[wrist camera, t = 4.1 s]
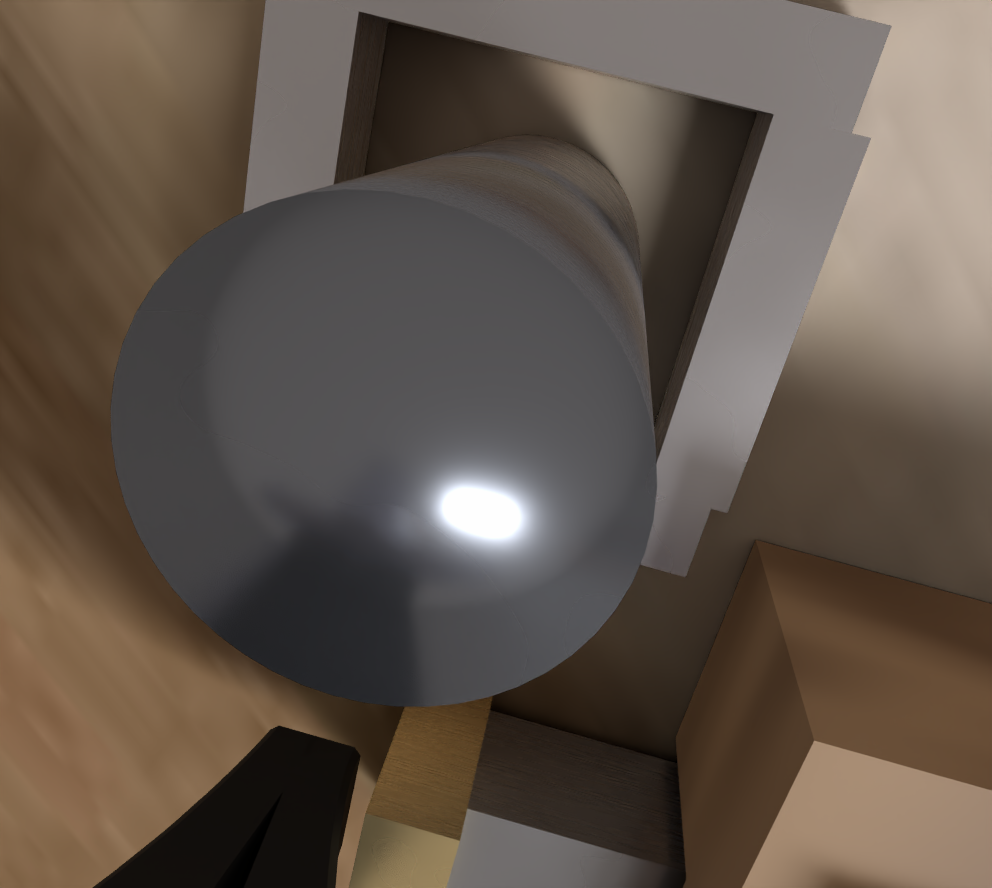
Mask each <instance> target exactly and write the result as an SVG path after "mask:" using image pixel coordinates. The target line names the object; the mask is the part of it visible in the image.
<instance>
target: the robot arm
mask: <svg viewBox="0 0 992 888" xmlns="http://www.w3.org/2000/svg"><path fill="white" fill-rule="evenodd" d="M359 761H360V754H359V753H358V751H357V750H356V749H355V747H352V746H348V745H345V744H341V743H338V742H334V741H331V740H327V739H324V738H320V737H317V736H313V735H310V734H306V733H303V732H299V731H296V730H292V729H289V728H285V727H282V726H277V727H275V728H273V729H271V730H270V731H269V732H268V733H267V734H266V735H265V736H264V737H263V738H262V740H261V741H260V742H259V743H258V744H257V745H256V746H255V747H254V748H253V749H252V750H251V751H250V752H249V753H248V754H247V755H246V756H245V757H244V758H243V759H242V760H241V761H240V762H239V763H238V764H237V765H236V766H235V767H234V768H233V769H232V770H231V771H230V772H229V773H228V774H227V775H226V776H225V777H224V778H223V779H222V780H221V781H220V782H219V783H218V784H217V785H215V786H214V787H213V788H212V789H211V790H210V791H209V792H208V793H207V794H206V795H205V796H203V797H202V798H201V799H200V800H199V801H198V802H197V803H196V804H194V805H193V806H192V807H191V808H190V809H189V810H188V811H187V812H185V813H184V814H183V815H182V816H181V817H180V818H179V819H178V820H176V821H175V822H174V823H173V824H172V825H171V826H170V827H168V828H167V829H166V830H165V831H164V832H163V833H161V834H160V835H159V836H158V837H156V838H155V839H154V840H153V841H151V842H150V843H149V844H148V845H146V846H145V847H144V848H143V849H141V850H140V851H139V852H138V853H136V854H135V855H134V856H133V857H131V858H130V859H129V860H128V861H126V862H125V863H124V864H123V865H122V866H120V867H119V868H118V869H117V870H115V871H114V872H113V873H111V874H110V875H109V876H107V877H106V878H105V879H103V880H102V881H101V882H99V883H98V884H97V885H95V886H94V887H93V888H335V886H336V874H337V862H338V855H339V852H340V849H341V846H342V842H343V837H344V833H345V828H346V823H347V818H348V813H349V809H350V804H351V799H352V794H353V789H354V785H355V780H356V775H357V770H358V765H359Z"/></svg>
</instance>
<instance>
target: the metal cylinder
mask: <svg viewBox="0 0 992 888" xmlns="http://www.w3.org/2000/svg"><path fill="white" fill-rule="evenodd" d="M111 441H112V448H113V454H114V461H115V467H116V473H117V477H118V480H119V484H120V487H121V491H122V494H123V498H124V501H125V504H126V507H127V509H128V512H129V514H130V516H131V519H132V521H133V524H134V526H135V528H136V531H137V533H138V535H139V537H140V539H141V540H142V542H143V544H144V546H145V548H146V549H147V551H148V553H149V555H150V557H151V558H152V560H153V562H154V563H155V565H156V566H157V568H158V569H159V570H160V572H161V573H162V575H163V576H164V577H165V579H166V580H167V582H168V583H169V584H170V586H171V587H172V589H173V590H174V591H175V592H176V593H177V594H178V595H179V597H180V598H181V599H182V600H183V601H184V602H185V603H186V604H187V605H188V607H189V608H190V609H191V610H192V611H193V612H194V613H195V614H196V615H197V616H198V617H199V618H200V619H201V620H202V621H203V622H205V623H206V624H207V625H208V626H209V627H210V628H211V629H212V630H213V631H214V632H216V633H217V634H218V635H219V636H220V637H222V638H223V639H224V640H226V641H227V642H228V643H230V644H231V645H232V646H234V647H235V648H236V649H238V650H239V651H241V652H242V653H243V654H245V655H246V656H248V657H250V658H251V659H253V660H255V661H256V662H258V663H260V664H261V665H263V666H265V667H266V668H268V669H270V670H272V671H273V672H275V673H278V674H280V675H282V676H284V677H286V678H288V679H291V680H293V681H295V682H297V683H299V684H301V685H304V686H307V687H310V688H313V689H316V690H319V691H322V692H324V693H327V694H330V695H333V696H338V697H342V698H346V699H351V700H355V701H359V702H364V703H372V704H380V705H388V706H403V707H430V706H440V705H450V704H459V703H464V702H468V701H473V700H477V699H482V698H486V697H490V696H493V695H496V694H499V693H502V692H504V691H507V690H510V689H513V688H516V687H519V686H521V685H523V684H525V683H527V682H529V681H531V680H533V679H535V678H537V677H539V676H541V675H543V674H545V673H546V672H548V671H549V670H551V669H552V668H554V667H555V666H557V665H558V664H560V663H561V662H563V661H564V660H566V659H567V658H569V657H570V656H571V655H573V654H574V653H575V652H576V651H577V650H578V649H579V648H580V647H582V646H583V645H584V644H585V643H586V642H587V641H588V640H589V639H590V638H592V637H593V636H594V635H595V634H596V633H597V631H598V630H599V629H600V628H601V627H602V625H603V624H604V623H605V622H606V621H607V620H608V618H609V617H610V616H611V615H612V614H613V612H614V611H615V610H616V608H617V607H618V605H619V603H620V602H621V600H622V598H623V597H624V595H625V594H626V592H627V590H628V589H629V587H630V586H631V584H632V582H633V580H634V577H635V575H636V573H637V570H638V568H639V566H640V563H641V561H642V559H643V556H644V554H645V551H646V547H647V543H648V539H649V536H650V532H651V528H652V524H653V520H654V511H655V502H656V493H657V466H656V445H655V433H654V421H653V409H652V397H651V384H650V372H649V360H648V348H647V336H646V323H645V311H644V299H643V287H642V275H641V262H640V250H639V238H638V231H637V226H636V221H635V217H634V214H633V211H632V208H631V205H630V203H629V201H628V199H627V197H626V195H625V193H624V191H623V190H622V188H621V186H620V185H619V183H618V182H617V180H616V179H615V178H614V177H613V176H612V174H611V173H610V172H609V171H608V170H607V169H606V168H605V167H604V166H603V165H602V164H601V163H600V162H599V161H598V160H596V159H595V158H594V157H592V156H591V155H589V154H588V153H587V152H585V151H584V150H582V149H580V148H578V147H576V146H574V145H572V144H570V143H567V142H564V141H561V140H558V139H555V138H550V137H545V136H539V135H518V136H509V137H505V138H501V139H497V140H493V141H489V142H485V143H482V144H478V145H475V146H471V147H467V148H464V149H460V150H457V151H453V152H449V153H446V154H442V155H438V156H435V157H431V158H428V159H424V160H420V161H417V162H413V163H410V164H406V165H402V166H399V167H395V168H391V169H388V170H384V171H381V172H377V173H373V174H370V175H366V176H363V177H359V178H355V179H352V180H348V181H344V182H341V183H337V184H334V185H330V186H326V187H323V188H319V189H316V190H312V191H308V192H305V193H301V194H297V195H294V196H290V197H287V198H283V199H279V200H276V201H272V202H269V203H266V204H264V205H261V206H259V207H257V208H254V209H252V210H249V211H247V212H244V213H242V214H240V215H237V216H235V217H233V218H231V219H230V220H228V221H227V222H225V223H223V224H222V225H220V226H218V227H217V228H215V229H213V230H212V231H210V232H208V233H207V234H205V235H203V236H202V237H201V238H200V239H199V240H198V241H196V242H195V243H194V244H193V245H192V246H190V247H189V248H188V249H187V250H186V251H184V252H183V253H182V254H181V255H180V256H178V257H177V258H176V259H175V261H174V262H173V263H172V264H171V265H170V266H169V267H168V269H167V270H166V271H165V272H164V273H163V274H162V275H161V277H160V278H159V279H158V280H157V281H156V282H155V283H154V285H153V287H152V288H151V290H150V291H149V293H148V294H147V296H146V298H145V299H144V301H143V302H142V304H141V306H140V307H139V309H138V310H137V312H136V314H135V316H134V319H133V321H132V323H131V326H130V328H129V330H128V333H127V335H126V337H125V339H124V342H123V345H122V349H121V352H120V356H119V360H118V364H117V367H116V371H115V375H114V383H113V392H112V400H111Z"/></svg>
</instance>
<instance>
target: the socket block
mask: <svg viewBox="0 0 992 888" xmlns="http://www.w3.org/2000/svg"><path fill="white" fill-rule="evenodd" d="M676 749H677V762H678V776H679V789H680V802H681V815H682V829H683V842H684V855H685V868H686V881H685V883H684V886H683V888H992V604H990V603H987V602H983V601H979V600H976V599H972V598H968V597H964V596H961V595H957V594H953V593H950V592H946V591H942V590H939V589H935V588H931V587H928V586H924V585H920V584H917V583H913V582H909V581H905V580H902V579H898V578H894V577H891V576H887V575H883V574H880V573H876V572H872V571H869V570H865V569H861V568H858V567H854V566H850V565H846V564H843V563H839V562H835V561H832V560H828V559H824V558H821V557H817V556H813V555H810V554H806V553H802V552H799V551H795V550H791V549H787V548H784V547H780V546H776V545H773V544H769V543H765V542H762V541H758V540H755V543H754V545H753V548H752V550H751V552H750V555H749V557H748V560H747V562H746V565H745V567H744V570H743V572H742V575H741V577H740V580H739V582H738V585H737V587H736V590H735V592H734V595H733V597H732V599H731V602H730V604H729V607H728V609H727V612H726V614H725V617H724V619H723V622H722V624H721V627H720V629H719V632H718V634H717V637H716V639H715V642H714V644H713V646H712V649H711V651H710V654H709V656H708V659H707V661H706V664H705V666H704V669H703V671H702V674H701V676H700V679H699V681H698V684H697V686H696V689H695V691H694V694H693V696H692V698H691V701H690V703H689V706H688V708H687V711H686V713H685V716H684V718H683V721H682V723H681V726H680V728H679V731H678V733H677V736H676Z"/></svg>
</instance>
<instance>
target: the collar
mask: <svg viewBox="0 0 992 888" xmlns="http://www.w3.org/2000/svg"><path fill="white" fill-rule="evenodd" d="M388 22H393V23H397V24H401V25H405V26H409V27H413V28H417V29H421V30H425V31H429V32H433V33H437V34H441V35H445V36H449V37H453V38H457V39H461V40H465V41H469V42H473V43H477V44H482V45H486V46H490V47H494V48H498V49H502V50H506V51H510V52H514V53H518V54H522V55H526V56H530V57H534V58H538V59H542V60H546V61H550V62H554V63H558V64H562V65H566V66H570V67H574V68H578V69H582V70H586V71H590V72H594V73H599V74H603V75H607V76H611V77H615V78H619V79H623V80H627V81H631V82H635V83H639V84H643V85H647V86H651V87H655V88H659V89H663V90H667V91H671V92H675V93H679V94H683V95H687V96H691V97H695V98H699V99H703V100H707V101H712V102H716V103H720V104H724V105H728V106H732V107H736V108H740V109H744V110H748V111H752V112H756V113H757V115H756V118H755V122H754V125H753V128H752V131H751V134H750V137H749V140H748V143H747V146H746V149H745V152H744V155H743V158H742V161H741V164H740V167H739V170H738V173H737V176H736V179H735V182H734V185H733V189H732V192H731V195H730V198H729V201H728V204H727V207H726V210H725V213H724V216H723V219H722V222H721V225H720V228H719V231H718V234H717V237H716V240H715V243H714V246H713V249H712V252H711V256H710V259H709V262H708V265H707V268H706V271H705V274H704V277H703V280H702V283H701V286H700V289H699V292H698V295H697V298H696V301H695V304H694V307H693V310H692V313H691V316H690V319H689V323H688V326H687V329H686V332H685V335H684V338H683V341H682V344H681V347H680V350H679V353H678V356H677V359H676V362H675V365H674V368H673V371H672V374H671V377H670V380H669V383H668V386H667V390H666V393H665V396H664V399H663V402H662V405H661V408H660V411H659V414H658V417H657V420H656V423H655V426H654V433H655V445H656V466H657V493H656V502H655V511H654V520H653V524H652V528H651V532H650V536H649V539H648V543H647V547H646V551H645V554H644V556H643V559H642V561H641V563H640V565H643V566H646V567H650V568H654V569H657V570H661V571H664V572H668V573H672V574H675V575H679V576H683V577H686V575H687V572H688V570H689V567H690V564H691V562H692V559H693V556H694V554H695V551H696V548H697V546H698V543H699V540H700V538H701V535H702V532H703V530H704V527H705V524H706V522H707V519H708V516H709V514H710V511H711V509H713V510H717V511H721V512H725V513H728V510H729V508H730V505H731V502H732V500H733V497H734V495H735V492H736V489H737V487H738V484H739V482H740V479H741V476H742V474H743V471H744V468H745V466H746V463H747V461H748V458H749V455H750V453H751V450H752V448H753V445H754V442H755V440H756V437H757V435H758V432H759V429H760V427H761V424H762V421H763V419H764V416H765V414H766V411H767V408H768V406H769V403H770V401H771V398H772V395H773V393H774V390H775V388H776V385H777V382H778V380H779V377H780V374H781V372H782V369H783V367H784V364H785V361H786V359H787V356H788V354H789V351H790V348H791V346H792V343H793V341H794V338H795V335H796V333H797V330H798V327H799V325H800V322H801V320H802V317H803V314H804V312H805V309H806V307H807V304H808V301H809V299H810V296H811V294H812V291H813V288H814V286H815V283H816V281H817V278H818V275H819V273H820V270H821V267H822V265H823V262H824V260H825V257H826V254H827V252H828V249H829V247H830V244H831V241H832V239H833V236H834V234H835V231H836V228H837V226H838V223H839V220H840V218H841V215H842V213H843V210H844V207H845V205H846V202H847V200H848V197H849V194H850V192H851V189H852V187H853V184H854V181H855V179H856V176H857V173H858V171H859V168H860V166H861V163H862V160H863V158H864V155H865V153H866V150H867V147H868V145H869V142H870V140H871V138H868V137H864V136H860V135H856V134H852V131H853V128H854V125H855V123H856V120H857V117H858V115H859V112H860V109H861V107H862V104H863V101H864V99H865V96H866V93H867V91H868V88H869V85H870V83H871V80H872V77H873V75H874V72H875V69H876V66H877V64H878V61H879V58H880V56H881V53H882V50H883V48H884V45H885V42H886V40H887V37H888V34H889V32H890V29H891V26H890V25H886V24H882V23H878V22H874V21H870V20H865V19H861V18H857V17H853V16H849V15H845V14H841V13H836V12H832V11H828V10H824V9H820V8H816V7H812V6H807V5H803V4H799V3H795V2H791V1H787V0H266V2H265V12H264V21H263V31H262V40H261V50H260V59H259V69H258V78H257V88H256V97H255V107H254V116H253V126H252V135H251V145H250V154H249V164H248V173H247V183H246V192H245V202H244V211H243V213H244V212H247V211H249V210H252V209H254V208H257V207H259V206H261V205H264V204H266V203H269V202H272V201H276V200H279V199H283V198H287V197H290V196H294V195H297V194H301V193H305V192H308V191H312V190H316V189H319V188H323V187H326V186H330V185H334V184H337V183H341V182H344V181H348V180H352V179H355V178H359V177H363V176H364V174H365V167H366V161H367V155H368V148H369V142H370V136H371V130H372V123H373V117H374V111H375V104H376V98H377V92H378V85H379V79H380V73H381V66H382V60H383V54H384V48H385V41H386V35H387V29H388Z"/></svg>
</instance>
